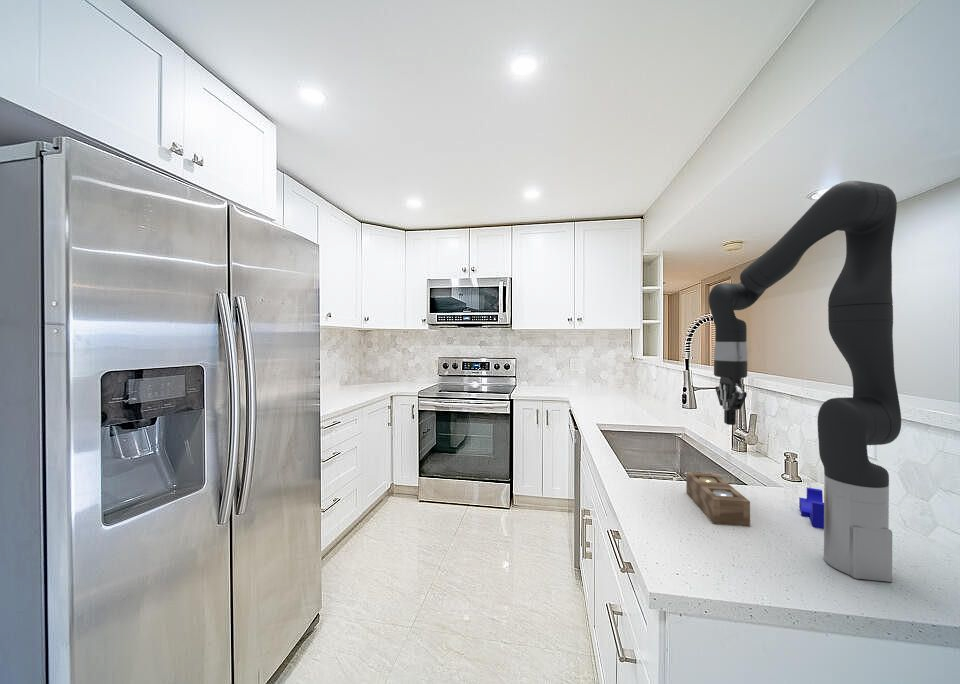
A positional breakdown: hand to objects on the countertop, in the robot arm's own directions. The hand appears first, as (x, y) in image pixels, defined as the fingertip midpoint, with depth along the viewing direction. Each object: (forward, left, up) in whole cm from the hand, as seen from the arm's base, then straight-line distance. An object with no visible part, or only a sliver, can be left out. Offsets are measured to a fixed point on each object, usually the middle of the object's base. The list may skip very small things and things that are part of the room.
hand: (729, 424), depth 106 cm
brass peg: (+4, +4, -22) cm, 23 cm away
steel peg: (-6, +4, -22) cm, 23 cm away
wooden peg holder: (-1, +4, -22) cm, 23 cm away
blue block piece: (-3, -18, -23) cm, 29 cm away
